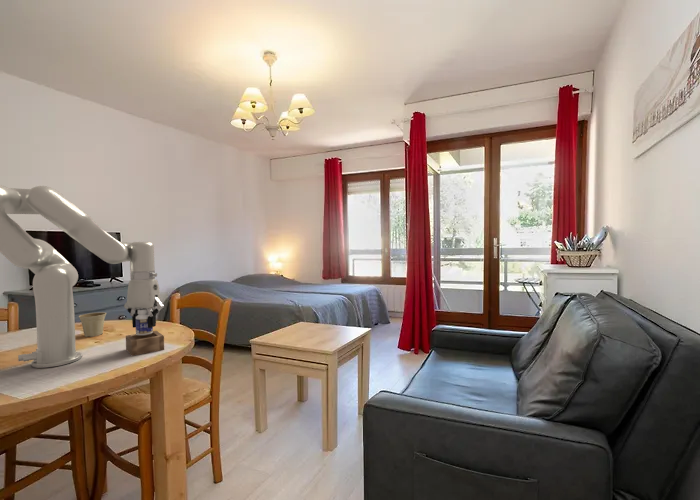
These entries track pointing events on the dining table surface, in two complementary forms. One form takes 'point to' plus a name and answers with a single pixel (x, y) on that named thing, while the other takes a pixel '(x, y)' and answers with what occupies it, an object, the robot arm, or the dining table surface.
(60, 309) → the robot arm
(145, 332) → the pill bottle
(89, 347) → the dining table surface
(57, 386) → the dining table surface
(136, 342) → the well
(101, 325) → the flower pot
